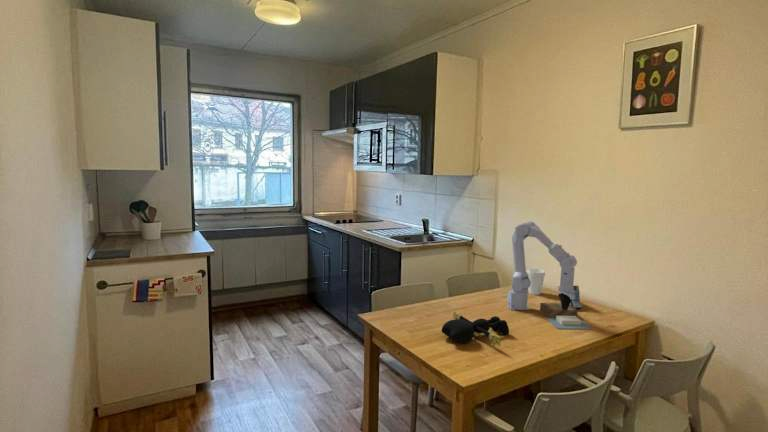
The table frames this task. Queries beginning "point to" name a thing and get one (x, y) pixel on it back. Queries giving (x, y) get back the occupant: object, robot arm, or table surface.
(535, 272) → the foam cup
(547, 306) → the brown flat block
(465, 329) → the toy
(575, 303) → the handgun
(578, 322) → the cream flat block
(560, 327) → the mat
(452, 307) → the table surface
